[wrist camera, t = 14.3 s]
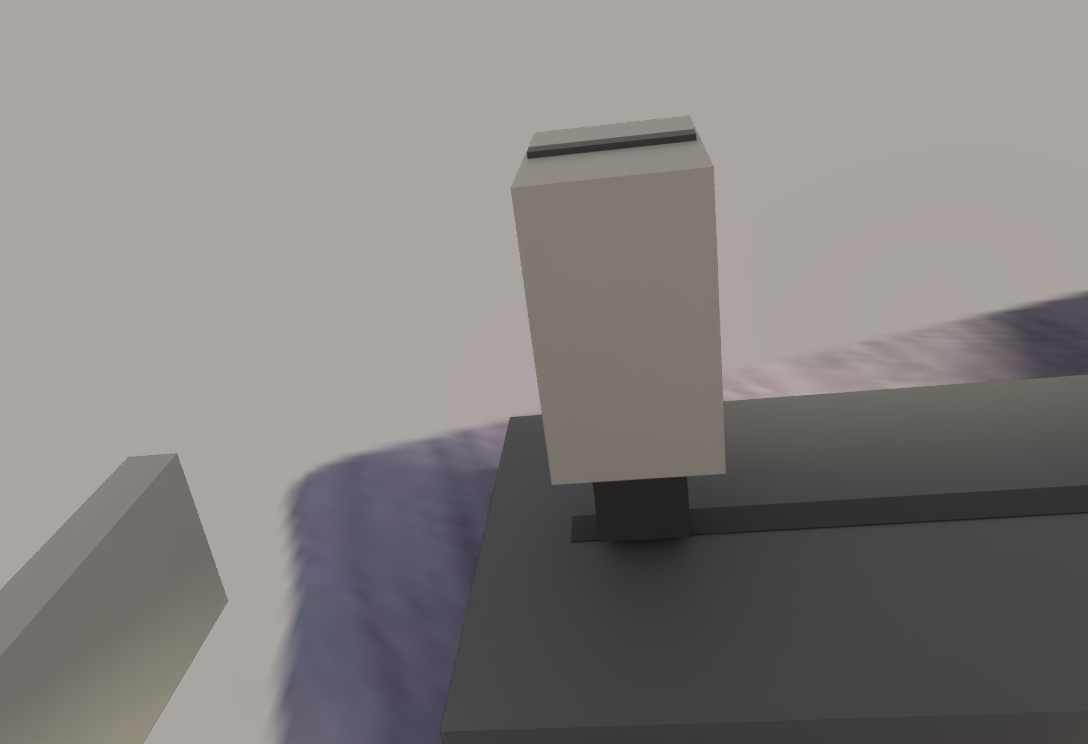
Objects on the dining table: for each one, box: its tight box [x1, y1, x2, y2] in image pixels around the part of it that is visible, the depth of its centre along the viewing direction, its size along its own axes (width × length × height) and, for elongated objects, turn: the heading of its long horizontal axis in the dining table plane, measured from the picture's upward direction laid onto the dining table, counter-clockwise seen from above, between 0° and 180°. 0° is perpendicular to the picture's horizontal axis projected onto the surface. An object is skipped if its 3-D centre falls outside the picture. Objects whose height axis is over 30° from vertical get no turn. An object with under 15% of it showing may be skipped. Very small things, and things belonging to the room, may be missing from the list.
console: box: [440, 375, 1088, 744], centre depth 24 cm, size 25×14×3 cm, turn 86°
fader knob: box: [511, 116, 726, 542], centre depth 22 cm, size 4×6×10 cm, turn 176°
